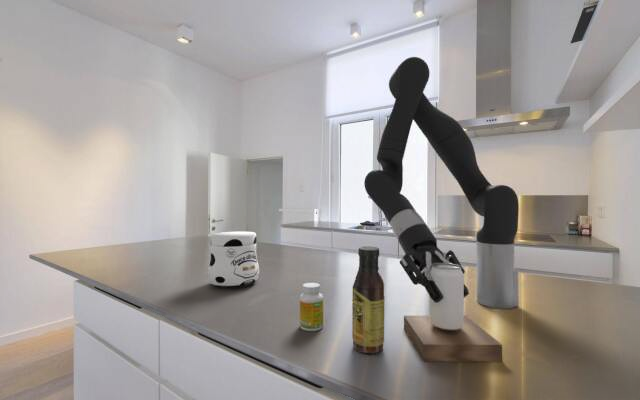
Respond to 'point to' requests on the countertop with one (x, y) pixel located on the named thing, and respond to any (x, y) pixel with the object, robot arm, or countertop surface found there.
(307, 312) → the supplement bottle
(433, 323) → the can
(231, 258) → the milk container
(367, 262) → the sauce bottle
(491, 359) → the plinth
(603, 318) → the countertop surface
